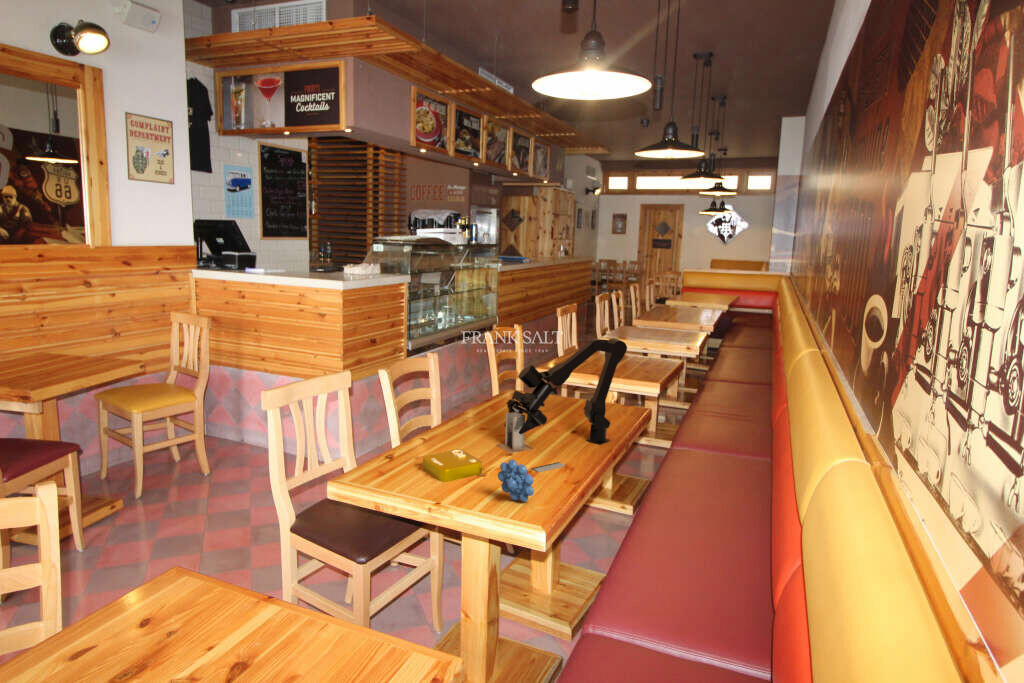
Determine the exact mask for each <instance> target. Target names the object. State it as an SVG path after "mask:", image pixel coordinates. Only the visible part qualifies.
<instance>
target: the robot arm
mask: <svg viewBox="0 0 1024 683" xmlns="http://www.w3.org/2000/svg"><path fill="white" fill-rule="evenodd" d="M627 350H628V346H627V344H626V342H624V341H623V340H620V339H618V338H615V337H611V338H609V339H597V338H591V339H590V340H589V341H588V342H587V343H585V345H583V346H582V347H581V348H580V349H578V350H577V351H576V352H575V353H573V354H572V355H571V356H570V357H568V358H567V359H565V361H563V362H561V363H557V364H555V365H554V366H552V367H550V368H548V370H545V371H544V370H543V371H540V372H539V370H537V369H536V367H535V366H534V365H533V364H532V363H531V364H530V365H528V366H526V367H525V368H523V369H522V370H520V372H519V373H518V376H517V377H518V379H519V380H520V381H521V382H522V383H523V384H524V385H525V386H526V387H527V388H528V389H531V388H533V390H532V391H531V392H527V391H526V392H525V393H522V392H520V391H518V390H514V392H513V394H512V397H511V398H510V399H508V400H507V402H506V405H507V410H508V413H511V412H518V413H521V414H524V415H525V414H526V415H527V416H526V419H525V423H524V425H523V426H522V428H521V429H520V431H519V434H520V435H521V434H523V433H526V432H529V431H530V430H533V429H535V428H538V427H541V426H545V425H546V423H547V422H548V417H547V416H546V415H545V414H544V412H542V411H541V410H540V408H541V407H545V405H546V404H545V401H546V400H547V399H548V397H549V396H550V395H554V396H556V395H558V391H557V390H558V388H557V387H560V386H562V385H564V384H565V383H566V381H567V380H568V379H569V378H570V377H571V375H572V372H574V371H575V370H576V369H577V368H578V367H579V366H581V365H582V364H583V363H584V362H586V361H587V360H588V359H589V358H591V357H592V356H593V355H594V354H596V353H597V352H603V353H604V363H603V367H602V369H601V372H600V375H599V379H598V381H597V385H596V388H595V391H594V394H593V396H592V398H590V399H588V398H587V399H586V401H585V406H584V407H583V409H582V410H584V411H583V412H584V414H583V415H584V416H585V418H586V419H588V422H589V423H590V430H589V437H588V438H587V439H586V442H589V443H590V442H591V443H593V444H598V445H603V444H605V443H608V442H610V438H607V433H608V432H607V430H608V429H609V428H610V426H611V422H610V421H609V420H608V419H607V417H605V415H606V411H607V410H606V409H607V408H606V407H607V406H606V401H607V397H608V393H609V391H610V387H611V385H612V383H613V379H614V376H615V373H616V371H617V370H616V369H617V366H618V365H619V364H620V362H621V361H622V360H623V359H624V357H625V355H626V353H627ZM503 426H504V427H505V428H506V421H505V422H504V425H503Z"/></svg>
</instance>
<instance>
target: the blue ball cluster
mask: <svg viewBox="0 0 1024 683" xmlns="http://www.w3.org/2000/svg"><path fill="white" fill-rule="evenodd" d="M499 469H500V471H498V473H497V479H498V480H499V481H500V482H501V485H500V486H501V490H502V491H503V492H504V493H506V494H508V493H509V498H510V499H511V500H512V501H518V500H520V501H521V502H523V503H525V502H528V500H529V497H531V496H533V495H534V494H535V489H534V487H532V486H533V484H534V477H533V476H532V475H531V474H529V473H528V467H527V466H526V465H525V464H523V463H520V464H518V463H517V461H516V460H514V459H509V461H507V462H506V461H505V462H502V463H500V466H499Z"/></svg>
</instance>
